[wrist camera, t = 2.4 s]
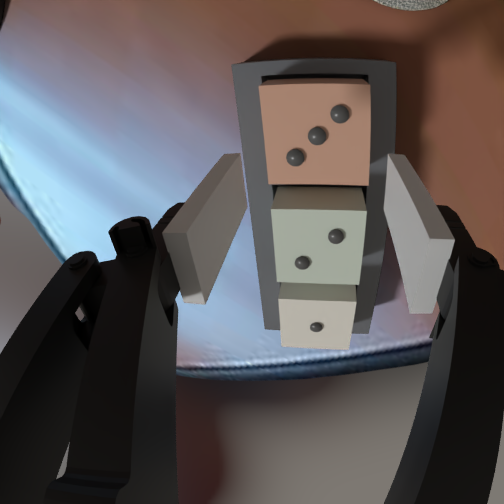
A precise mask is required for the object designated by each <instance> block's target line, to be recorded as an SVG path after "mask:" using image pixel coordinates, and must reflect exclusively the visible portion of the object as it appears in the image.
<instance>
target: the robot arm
mask: <svg viewBox="0 0 504 504" xmlns="http://www.w3.org/2000/svg"><path fill="white" fill-rule="evenodd" d="M4 1H5V0H0V24H1V20H2V16H3V10H4ZM246 209H247V201H246V193H245V185H244V178H243V170H242V162H241V155H240V153H235V154H224V155H223V156H222V157H221V158H220V159H219V161H218V162H217V163H216V164H215V166H214V167H213V168H212V169H211V170H210V172H209V173H208V174H207V175H206V177H205V178H204V179H203V180H202V182H201V183H200V184H199V185H198V187H197V188H196V189H195V190H194V192H193V193H192V194H191V196H190V197H189V198H188V199H187V201H186V202H184V203H177V204H176V205H174V206H172V207H171V208H169V209H168V210H167V211H166V213H165V214H164V215H163V216H162V218H161V219H160V220H159V221H158V224H156V225H155V226H154V228H153V229H152V228H151V225H150V221H149V219H147V218H146V217H141V216H137V217H131V218H127V219H124V220H122V221H120V222H118V223H117V224H115V225H114V226H113V227H112V228H111V229H110V230H109V232H108V233H109V235H110V238H111V240H112V243H113V246H114V248H115V251H116V253H117V256H116V259H114V260H109V261H104V262H99V261H98V259H97V257H96V254H95V253H93V252H92V251H84V252H78V253H76V254H74V255H73V256H71V257H70V258H68V259H67V260H66V261H65V262H64V263H63V265H62V266H61V267H60V269H59V270H58V271H57V273H56V274H55V275H54V277H53V278H52V279H51V280H50V282H49V283H48V284H47V286H46V287H45V288H44V290H43V291H42V292H41V294H40V295H39V297H38V298H37V299H36V301H35V302H34V304H33V305H32V306H31V308H30V310H29V311H28V312H27V314H26V315H25V317H24V318H23V319H22V321H21V322H20V324H19V325H18V327H17V329H16V330H15V331H14V333H13V335H12V336H11V338H10V339H9V341H8V343H7V344H6V346H5V347H4V349H3V351H2V352H1V354H0V504H179V502H178V484H177V461H176V460H177V458H176V353H177V325H178V307H177V303H176V301H175V298H176V296H177V294H178V292H179V291H180V292H181V295H182V298H183V301H184V303H193V304H204V305H205V304H206V302H207V300H208V297H209V295H210V292H211V290H212V288H213V285H214V283H215V281H216V278H217V276H218V274H219V271H220V269H221V267H222V264H223V262H224V260H225V257H226V255H227V253H228V250H229V248H230V246H231V243H232V241H233V239H234V236H235V234H236V232H237V229H238V227H239V225H240V223H241V220H242V218H243V216H244V213H245V211H246ZM384 212H385V216H386V219H387V222H388V226H389V229H390V233H391V236H392V240H393V244H394V247H395V251H396V255H397V259H398V263H399V267H400V271H401V275H402V279H403V284H404V288H405V292H406V297H407V302H408V307H409V311H410V313H432V312H433V309H434V306H435V303H436V301H437V302H438V305H439V309H440V312H439V315H438V317H437V320H436V322H435V325H434V327H433V330H432V332H431V335H430V337H429V338H433V342H432V347H431V353H430V358H429V363H428V367H427V372H426V376H425V381H424V385H423V389H422V393H421V397H420V401H419V405H418V408H417V412H416V416H415V419H414V422H413V426H412V429H411V432H410V435H409V438H408V442H407V445H406V448H405V450H404V453H403V456H402V459H401V462H400V465H399V468H398V470H397V473H396V475H395V478H394V480H393V483H392V485H391V488H390V491H389V493H388V495H387V498H386V500H385V502H384V504H487V502H488V498H489V494H490V490H491V486H492V482H493V477H494V473H495V468H496V463H497V457H498V451H499V445H500V438H501V431H502V422H503V412H504V271H503V270H501V269H500V267H499V264H498V261H497V260H496V258H495V257H494V256H493V255H492V254H490V253H489V252H487V251H486V250H483V249H481V248H477V247H476V245H475V243H474V241H473V240H472V238H471V236H470V234H469V233H468V231H467V229H465V226H464V224H463V223H462V221H461V219H460V218H459V216H458V215H457V213H456V212H455V211H453V210H452V209H451V208H449V207H448V206H443V205H436V204H435V202H434V201H433V199H432V197H431V196H430V194H429V192H428V191H427V189H426V187H425V186H424V184H423V183H422V181H421V179H420V178H419V176H418V175H417V173H416V172H415V170H414V168H413V167H412V165H411V164H410V162H409V161H408V159H407V158H406V156H405V155H401V154H388V161H387V176H386V189H385V200H384ZM78 307H80V308H81V310H82V312H83V314H84V315H85V316H84V318H83V319H82V320H81V321H80V320H79V319H78V317H77V316H76V314H75V312H76V311H77V309H78ZM69 442H70V444H69ZM68 444H69V452H68V459H67V467H66V471H65V473H64V475H63V476H62V477H60V478H58V479H56V478H57V475H58V472H59V469H60V466H61V463H62V461H63V457H64V455H65V452H66V450H67V447H68Z"/></svg>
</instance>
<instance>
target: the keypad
mask: <svg viewBox="0 0 504 504" xmlns="http://www.w3.org/2000/svg"><path fill="white" fill-rule="evenodd" d="M232 73H233V81H234V89H235V96H236V104H237V112H238V120H239V127H240V135H241V143H242V151H243V159H244V166H245V174H246V182H247V190H248V198H249V206H250V214H251V222H252V230H253V238H254V246H255V254H256V262H257V270H258V278H259V286H260V294H261V302H262V310H263V318H264V326H265V329H269V330H280V316H279V302H278V298H279V292H280V287H281V282H277V276H276V264H275V252H274V240H273V228H272V217H271V207H272V204H273V200H274V197H275V194H276V191H277V187H279V186H299V187H356V188H362V192H363V196H364V201H365V205H366V210H367V215H366V227H365V237H364V247H363V256H362V265H361V273H360V281H359V285H356V301H357V302H356V309H355V315H354V321H353V327H352V333H356V334H368V333H369V329H370V324H371V320H372V315H373V310H374V305H375V300H376V295H377V290H378V285H379V279H380V273H381V268H382V261H383V255H384V249H385V242H386V235H387V227H388V222H387V219H386V216H385V212H384V200H385V189H386V176H387V161H388V154H395V136H396V62H392V61H387V60H377V59H359V58H291V59H273V60H260V61H249V62H241V63H237V64H232ZM296 78H352V79H363V80H364V81H366V82H367V83H368V84H370V95H371V134H370V167H369V186H366V185H329V184H268V173H267V163H266V153H265V143H264V133H263V123H262V114H261V104H260V95H259V85H261V84H262V83H264V82H265V81H267V80H274V79H296Z"/></svg>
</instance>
